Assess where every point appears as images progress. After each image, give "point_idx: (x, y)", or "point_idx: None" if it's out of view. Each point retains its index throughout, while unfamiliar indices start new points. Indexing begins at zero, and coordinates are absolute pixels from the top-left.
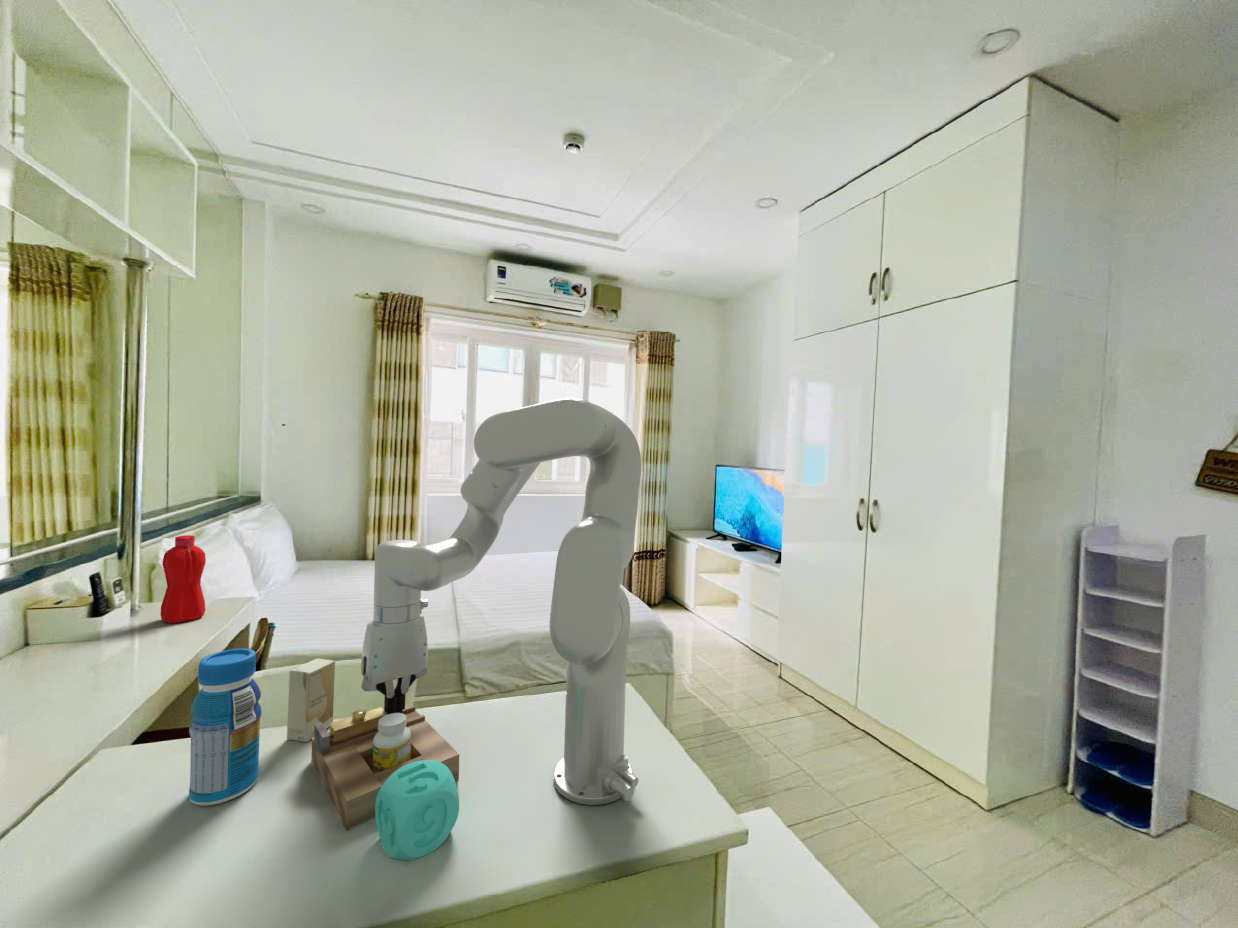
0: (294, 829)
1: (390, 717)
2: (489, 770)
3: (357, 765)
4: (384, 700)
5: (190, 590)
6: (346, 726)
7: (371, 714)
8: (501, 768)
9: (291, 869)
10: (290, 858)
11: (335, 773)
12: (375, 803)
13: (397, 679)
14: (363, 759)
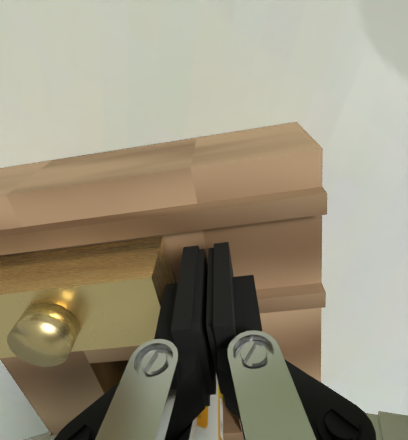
0: (8, 376)
1: None
2: (371, 402)
3: (88, 402)
4: (157, 323)
5: None
6: (8, 355)
7: (103, 317)
8: (394, 407)
9: (29, 433)
10: (22, 419)
11: (38, 405)
12: None
13: (239, 409)
14: (101, 392)
